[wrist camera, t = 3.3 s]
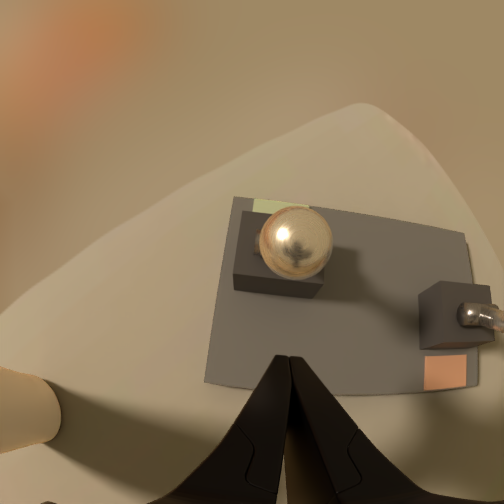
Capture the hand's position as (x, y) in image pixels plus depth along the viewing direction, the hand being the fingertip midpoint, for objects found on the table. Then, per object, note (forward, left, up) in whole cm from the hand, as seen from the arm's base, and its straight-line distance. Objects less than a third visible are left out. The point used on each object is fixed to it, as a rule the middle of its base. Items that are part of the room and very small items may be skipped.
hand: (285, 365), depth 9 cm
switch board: (+8, -3, -10) cm, 14 cm away
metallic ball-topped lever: (+6, +3, -6) cm, 9 cm away
